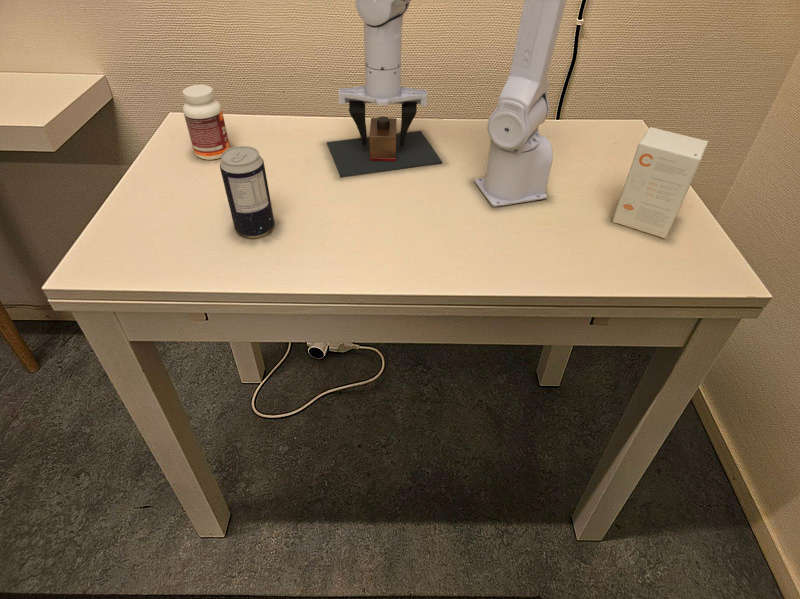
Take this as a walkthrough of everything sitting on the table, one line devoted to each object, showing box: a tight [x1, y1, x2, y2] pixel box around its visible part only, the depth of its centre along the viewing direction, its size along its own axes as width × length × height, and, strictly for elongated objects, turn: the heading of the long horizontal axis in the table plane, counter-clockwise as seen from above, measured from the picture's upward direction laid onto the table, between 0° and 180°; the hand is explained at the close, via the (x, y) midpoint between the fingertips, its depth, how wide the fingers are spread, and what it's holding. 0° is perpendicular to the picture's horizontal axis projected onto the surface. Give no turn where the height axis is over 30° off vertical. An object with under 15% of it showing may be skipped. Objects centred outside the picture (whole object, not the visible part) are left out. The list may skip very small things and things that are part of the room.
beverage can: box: [219, 145, 275, 239], centre depth 74 cm, size 6×6×12 cm
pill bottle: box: [182, 84, 231, 161], centre depth 90 cm, size 6×6×11 cm
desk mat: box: [326, 130, 443, 178], centre depth 95 cm, size 18×12×1 cm, turn 107°
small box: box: [611, 126, 709, 239], centre depth 77 cm, size 8×6×13 cm
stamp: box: [368, 115, 397, 161], centre depth 92 cm, size 4×7×6 cm, turn 0°
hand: (383, 143), depth 93 cm, fingers open, 6 cm apart
